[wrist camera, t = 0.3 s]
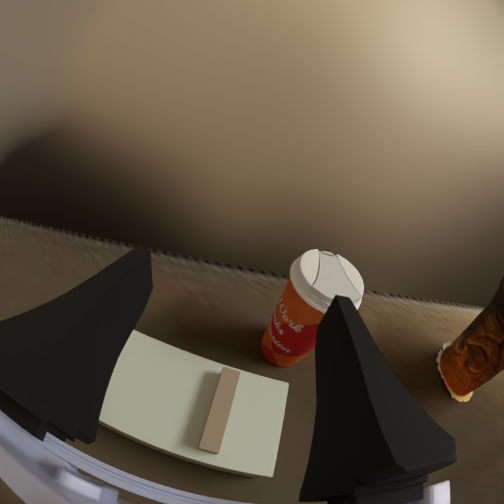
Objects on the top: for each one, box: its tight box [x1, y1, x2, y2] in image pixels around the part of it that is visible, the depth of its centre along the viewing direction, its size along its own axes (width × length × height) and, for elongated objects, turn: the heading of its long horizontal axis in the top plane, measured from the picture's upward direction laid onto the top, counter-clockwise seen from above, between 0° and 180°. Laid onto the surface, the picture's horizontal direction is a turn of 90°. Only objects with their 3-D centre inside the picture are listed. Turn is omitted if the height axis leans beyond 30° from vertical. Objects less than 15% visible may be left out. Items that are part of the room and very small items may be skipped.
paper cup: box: [261, 249, 364, 367], centre depth 29 cm, size 8×8×14 cm
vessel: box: [436, 276, 504, 402], centre depth 30 cm, size 14×14×20 cm
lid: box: [99, 330, 289, 477], centre depth 21 cm, size 10×18×3 cm, turn 79°
